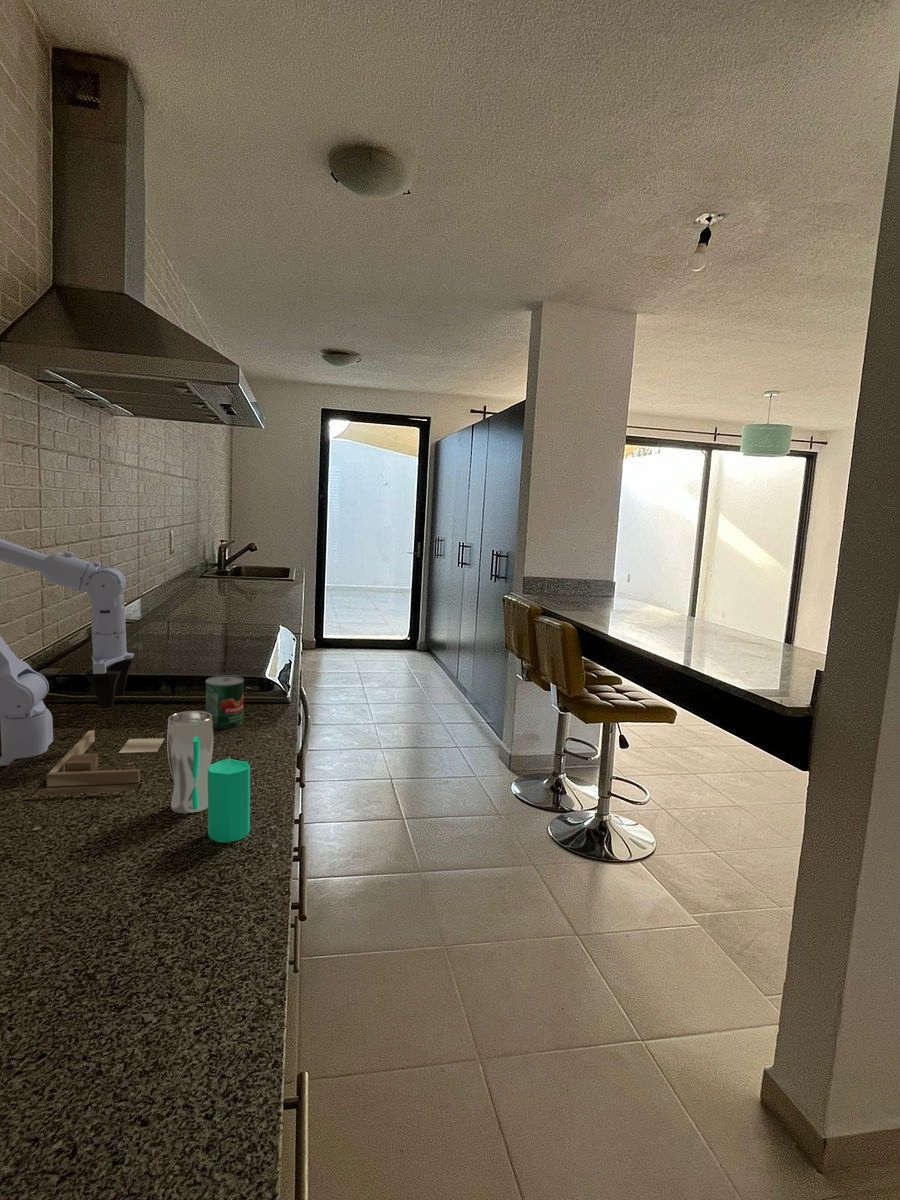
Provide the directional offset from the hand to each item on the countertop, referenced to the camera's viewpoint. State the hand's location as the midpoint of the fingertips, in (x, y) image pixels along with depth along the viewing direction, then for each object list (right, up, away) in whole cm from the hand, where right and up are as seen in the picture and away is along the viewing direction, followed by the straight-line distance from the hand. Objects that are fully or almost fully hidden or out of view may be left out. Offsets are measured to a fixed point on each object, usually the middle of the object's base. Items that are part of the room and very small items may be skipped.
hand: (112, 701), depth 126 cm
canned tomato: (+15, -9, +18) cm, 25 cm away
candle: (+32, -16, -27) cm, 44 cm away
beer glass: (+23, -14, -19) cm, 33 cm away
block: (+1, -11, -13) cm, 17 cm away
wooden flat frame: (+3, -11, -4) cm, 12 cm away
